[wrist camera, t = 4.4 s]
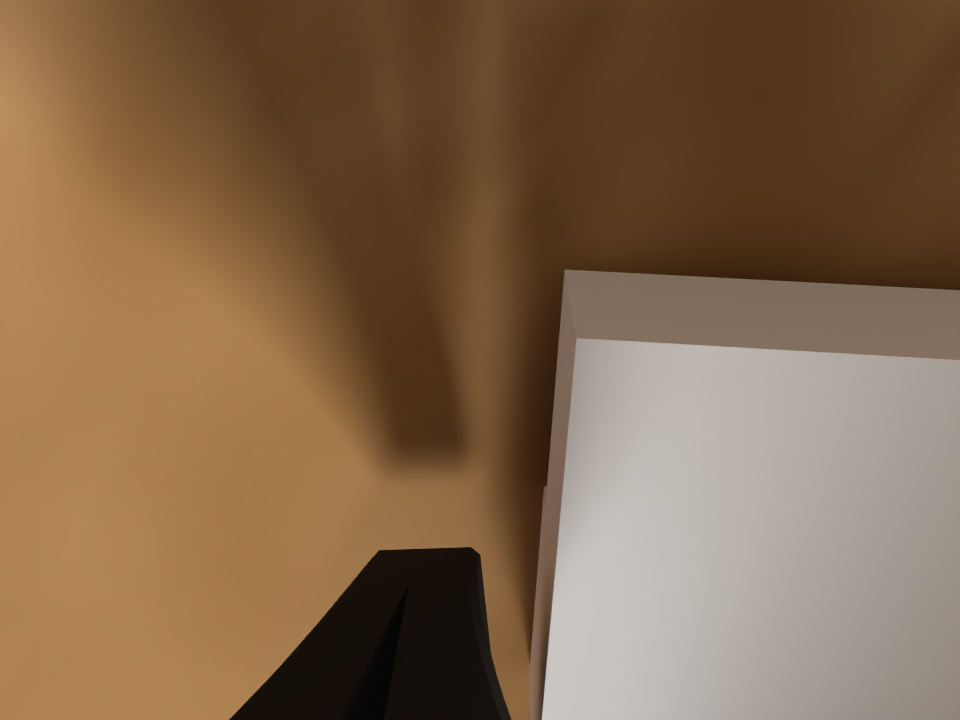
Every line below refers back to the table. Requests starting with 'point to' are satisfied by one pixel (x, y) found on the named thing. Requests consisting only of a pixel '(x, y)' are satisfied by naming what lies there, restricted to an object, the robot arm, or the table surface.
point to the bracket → (750, 503)
